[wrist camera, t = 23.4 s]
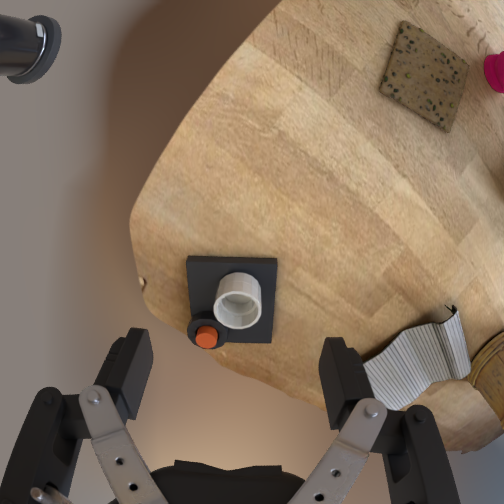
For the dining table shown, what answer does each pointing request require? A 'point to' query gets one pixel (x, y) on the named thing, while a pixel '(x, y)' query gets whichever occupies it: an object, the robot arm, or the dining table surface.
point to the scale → (205, 287)
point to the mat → (418, 361)
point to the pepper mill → (495, 71)
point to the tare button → (206, 337)
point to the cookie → (425, 76)
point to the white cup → (238, 301)
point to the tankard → (490, 375)
